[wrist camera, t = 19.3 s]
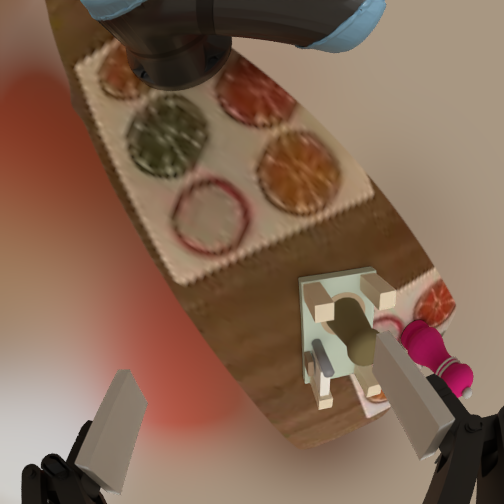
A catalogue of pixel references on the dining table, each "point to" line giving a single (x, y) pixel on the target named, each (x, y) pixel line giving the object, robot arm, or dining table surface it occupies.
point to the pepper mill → (437, 357)
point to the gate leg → (320, 386)
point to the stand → (322, 309)
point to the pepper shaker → (354, 331)
